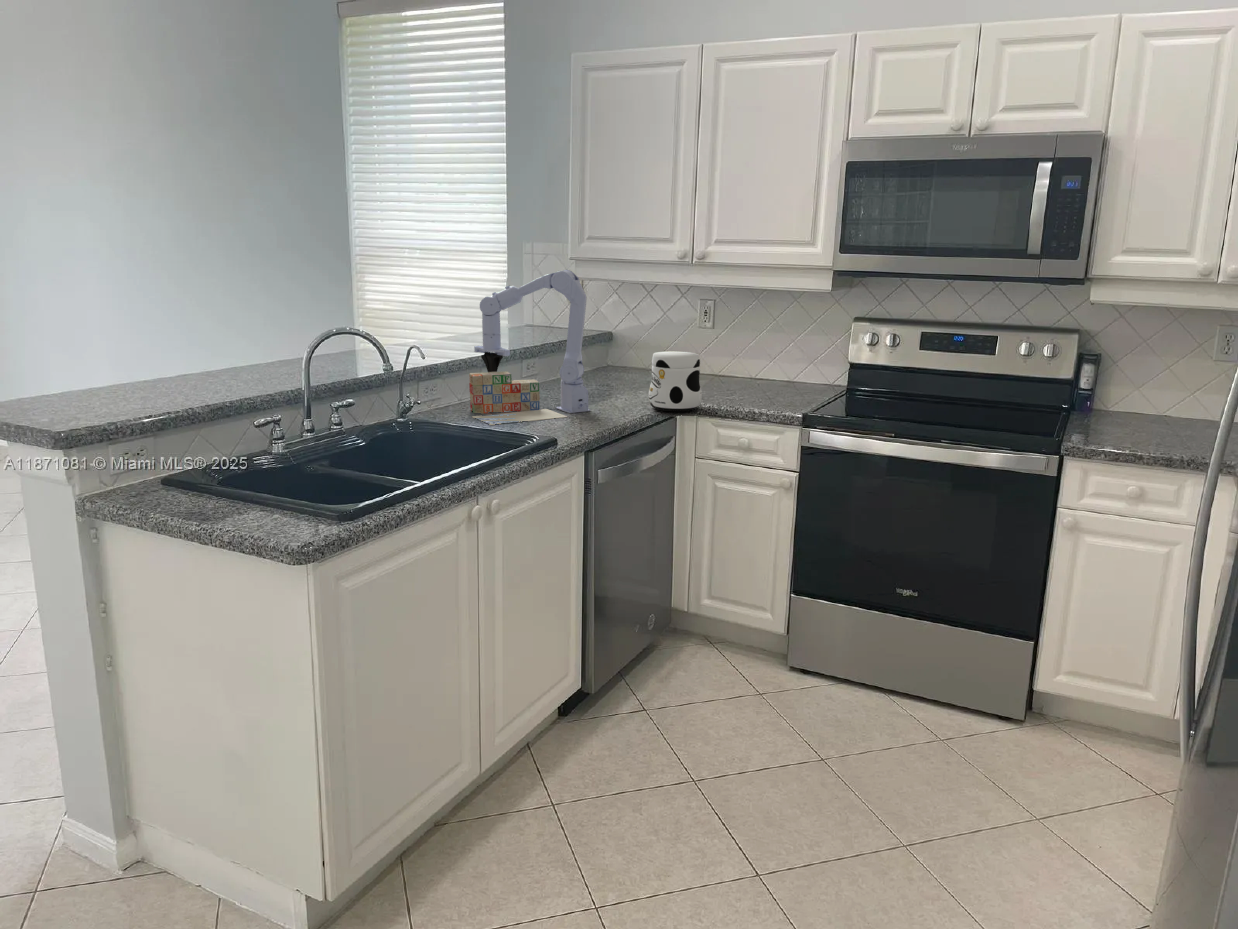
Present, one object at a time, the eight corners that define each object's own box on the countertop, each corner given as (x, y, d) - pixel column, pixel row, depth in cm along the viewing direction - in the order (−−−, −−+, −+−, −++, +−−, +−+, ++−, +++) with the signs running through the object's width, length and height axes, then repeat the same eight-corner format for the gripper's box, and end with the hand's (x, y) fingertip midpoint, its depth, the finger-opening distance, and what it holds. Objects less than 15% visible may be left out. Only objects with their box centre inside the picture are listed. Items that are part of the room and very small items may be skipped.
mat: (567, 417, 279) (567, 416, 279) (490, 425, 266) (490, 424, 266) (546, 409, 291) (546, 408, 291) (471, 417, 278) (471, 416, 278)
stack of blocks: (535, 407, 295) (534, 369, 292) (539, 410, 290) (539, 372, 287) (470, 410, 288) (468, 372, 285) (473, 414, 283) (472, 375, 280)
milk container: (637, 408, 294) (638, 353, 290) (672, 402, 306) (674, 349, 302) (676, 416, 282) (678, 359, 278) (712, 409, 294) (714, 354, 290)
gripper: (516, 335, 288) (517, 377, 291) (485, 331, 297) (486, 372, 300) (500, 336, 283) (501, 379, 286) (469, 333, 291) (470, 374, 295)
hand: (492, 376), depth 293 cm, fingers closed
